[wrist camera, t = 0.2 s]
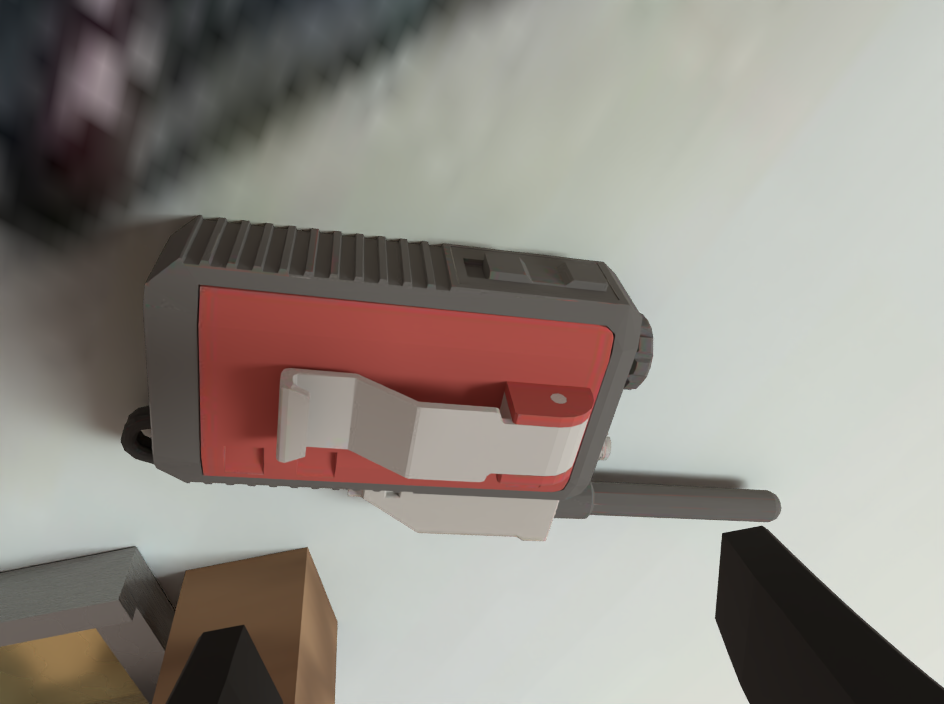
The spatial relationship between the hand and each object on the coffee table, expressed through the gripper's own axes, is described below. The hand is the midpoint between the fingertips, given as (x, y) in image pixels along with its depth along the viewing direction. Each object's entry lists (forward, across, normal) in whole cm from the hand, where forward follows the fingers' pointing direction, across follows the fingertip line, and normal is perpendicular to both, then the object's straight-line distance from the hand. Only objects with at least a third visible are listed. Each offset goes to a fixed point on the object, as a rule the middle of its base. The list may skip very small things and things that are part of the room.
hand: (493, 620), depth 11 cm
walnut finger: (+10, +8, +10) cm, 16 cm away
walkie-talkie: (+10, -1, +3) cm, 11 cm away
